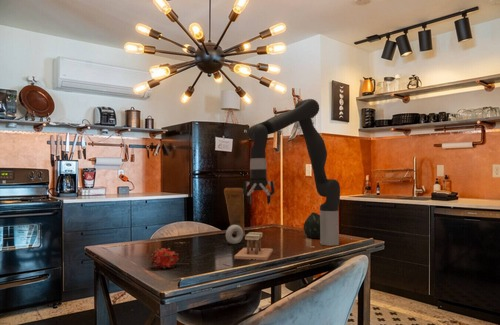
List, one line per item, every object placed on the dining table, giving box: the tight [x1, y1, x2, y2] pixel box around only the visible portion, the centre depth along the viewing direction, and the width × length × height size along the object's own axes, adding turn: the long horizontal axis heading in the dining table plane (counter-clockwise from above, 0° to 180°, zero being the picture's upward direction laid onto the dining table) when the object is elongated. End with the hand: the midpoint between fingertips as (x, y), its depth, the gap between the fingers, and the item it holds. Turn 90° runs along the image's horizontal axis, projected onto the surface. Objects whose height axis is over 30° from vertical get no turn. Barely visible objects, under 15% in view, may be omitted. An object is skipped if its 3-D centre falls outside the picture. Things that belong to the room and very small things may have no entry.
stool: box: [244, 231, 264, 254], centre depth 166 cm, size 10×6×8 cm, turn 168°
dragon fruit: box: [149, 247, 181, 270], centre depth 145 cm, size 8×8×12 cm
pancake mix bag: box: [223, 187, 246, 237], centre depth 223 cm, size 7×19×28 cm, turn 34°
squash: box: [302, 212, 320, 240], centre depth 210 cm, size 14×15×15 cm
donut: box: [225, 225, 244, 245], centre depth 192 cm, size 10×4×10 cm, turn 119°
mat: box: [233, 247, 274, 261], centre depth 166 cm, size 14×18×1 cm
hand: (259, 203), depth 170 cm, fingers open, 8 cm apart
